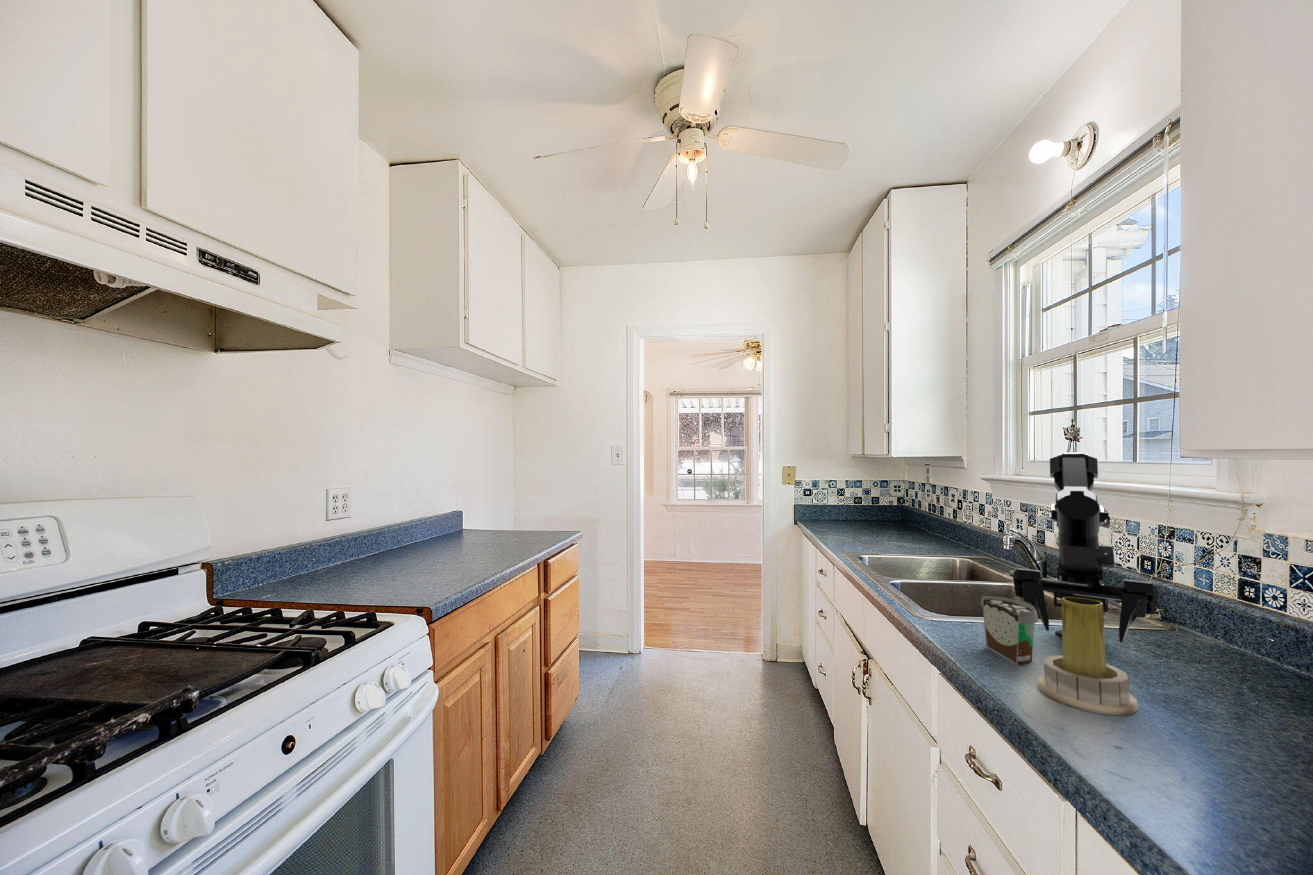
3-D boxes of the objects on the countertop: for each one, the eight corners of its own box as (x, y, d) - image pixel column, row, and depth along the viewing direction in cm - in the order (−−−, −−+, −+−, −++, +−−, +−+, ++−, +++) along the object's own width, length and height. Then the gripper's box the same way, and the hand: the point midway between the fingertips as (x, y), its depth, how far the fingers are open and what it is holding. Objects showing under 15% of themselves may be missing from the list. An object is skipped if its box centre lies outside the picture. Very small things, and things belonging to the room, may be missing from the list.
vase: (1113, 690, 84) (1110, 600, 84) (1105, 701, 80) (1101, 608, 80) (1066, 678, 88) (1063, 593, 89) (1056, 688, 85) (1053, 599, 85)
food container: (1056, 668, 95) (1055, 613, 95) (1022, 668, 95) (1020, 613, 95) (1012, 644, 107) (1010, 595, 108) (981, 644, 107) (980, 595, 108)
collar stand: (1062, 674, 92) (1061, 648, 92) (1153, 704, 81) (1152, 674, 81) (1021, 688, 87) (1020, 661, 87) (1112, 722, 76) (1111, 691, 76)
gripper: (1012, 523, 94) (1009, 598, 85) (1153, 531, 83) (1167, 619, 74) (1016, 559, 100) (1014, 633, 91) (1149, 572, 89) (1161, 658, 80)
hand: (1083, 635), depth 84 cm, fingers open, 9 cm apart
